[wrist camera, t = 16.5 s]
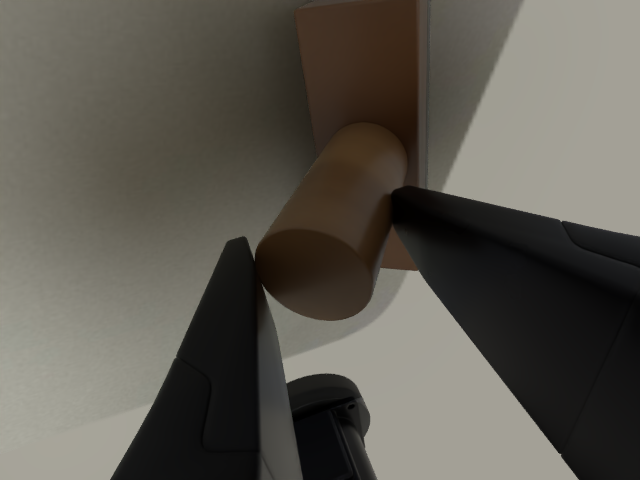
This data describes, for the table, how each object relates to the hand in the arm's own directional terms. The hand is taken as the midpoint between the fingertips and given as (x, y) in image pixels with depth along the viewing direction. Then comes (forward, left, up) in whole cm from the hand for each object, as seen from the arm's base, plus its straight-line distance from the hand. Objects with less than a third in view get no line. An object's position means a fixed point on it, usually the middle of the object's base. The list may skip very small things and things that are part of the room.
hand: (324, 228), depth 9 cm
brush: (0, -4, -5) cm, 6 cm away
